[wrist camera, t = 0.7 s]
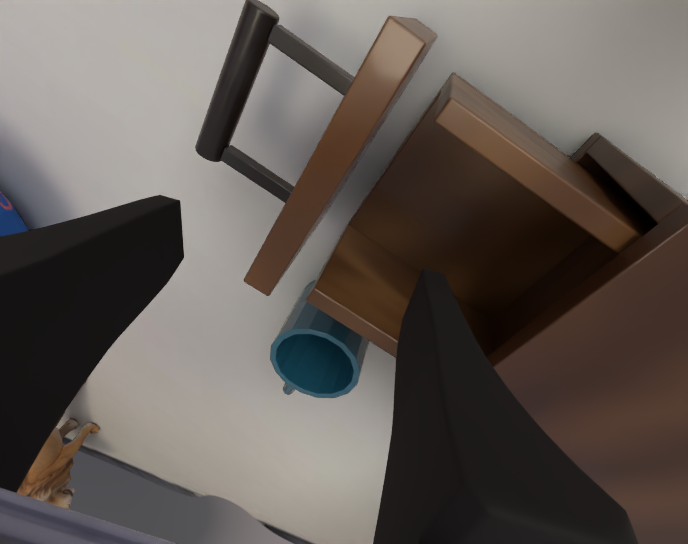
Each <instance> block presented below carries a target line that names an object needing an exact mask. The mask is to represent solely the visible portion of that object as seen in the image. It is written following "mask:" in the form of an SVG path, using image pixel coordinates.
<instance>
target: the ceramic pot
mask: <svg viewBox="0 0 688 544" xmlns="http://www.w3.org/2000/svg"><path fill="white" fill-rule="evenodd" d="M25 231H28V229H27V227H26V225H25V224H24V222H23V221H22V219H21V217H20V216H19V214H18V213H17V211H16V210H15V208H14V206H13V205H12V203H11V202H10V201H9V200H8V199H7V197H6V196H5V195H4V194H3V193H2V192H1V191H0V236H5V235H10V234H15V233H20V232H25Z"/></svg>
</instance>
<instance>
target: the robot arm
mask: <svg viewBox="0 0 688 544" xmlns="http://www.w3.org/2000/svg"><path fill="white" fill-rule="evenodd" d="M183 258H184V250H183V236H182V221H181V207H180V200H176V199H172V198H169V197H165V196H162V195H158V196H153V197H149V198H145V199H141V200H138V201H134V202H131V203H128V204H124V205H121V206H118V207H114V208H111V209H108V210H104V211H101V212H98V213H94V214H91V215H88V216H84V217H81V218H77V219H73V220H69V221H66V222H62V223H58V224H54V225H50V226H47V227H43V228H38V229H34V230H30V231H25V232H20V233H15V234H10V235H5V236H0V544H176V543H173V542H170V541H167V540H163V539H160V538H157V537H154V536H150V535H148V534H145V533H141V532H138V531H135V530H132V529H129V528H125V527H122V526H119V525H116V524H113V523H109V522H107V521H103V520H100V519H97V518H94V517H91V516H88V515H84V514H81V513H78V512H75V511H72V510H69V509H66V508H62V507H59V506H56V505H53V504H50V503H47V502H43V501H40V500H37V499H34V498H31V497H28V496H24V495H21V494H18V493H17V491H18V489H19V487H20V486H21V484H22V482H23V480H24V478H25V477H26V475H27V473H28V472H29V470H30V468H31V466H32V465H33V463H34V461H35V459H36V458H37V456H38V454H39V453H40V451H41V449H42V447H43V446H44V444H45V442H46V441H47V439H48V438H49V436H50V434H51V433H52V431H53V430H54V428H55V426H56V425H57V423H58V422H59V420H60V418H61V417H62V415H63V414H64V412H65V411H66V409H67V407H68V406H69V404H70V403H71V402H72V400H73V399H74V397H75V396H76V394H77V393H78V391H79V390H80V388H81V387H82V385H83V384H84V382H85V381H86V379H87V378H88V377H89V375H90V374H91V372H92V371H93V370H94V368H95V367H96V366H97V364H98V363H99V361H100V360H101V359H102V357H103V356H104V355H105V353H106V352H107V350H108V349H109V348H110V347H111V346H112V344H113V343H114V342H115V341H116V340H117V338H118V337H119V336H120V335H121V334H122V333H123V332H124V331H125V329H126V328H127V327H128V326H129V325H130V324H131V323H132V322H133V321H134V320H135V318H136V317H137V316H138V315H139V314H140V313H141V312H142V311H143V310H144V309H145V307H146V306H147V305H148V304H149V303H150V302H151V301H152V300H153V299H154V297H155V296H156V295H157V294H158V293H159V292H160V291H161V290H162V288H163V287H164V286H165V285H166V284H167V283H168V281H169V280H170V278H171V277H172V275H173V274H174V272H175V271H176V269H177V268H178V266H179V264H180V263H181V261H182V260H183ZM373 544H639V543H638V540H637V538H636V535H635V532H634V529H633V527H632V524H631V521H630V519H629V517H628V514H627V512H626V510H625V509H624V508H623V507H622V506H621V505H619V504H618V503H617V502H616V501H615V500H614V499H613V498H612V497H611V496H610V495H609V494H607V493H606V492H605V491H604V490H603V489H602V488H601V487H600V486H599V485H598V484H597V483H595V482H594V481H593V480H592V479H591V478H590V477H589V476H588V475H587V474H586V473H585V472H583V471H582V470H581V469H580V468H579V467H578V466H577V465H576V464H575V463H574V462H573V461H572V460H571V459H570V458H569V457H568V456H567V455H566V454H565V453H564V452H563V451H562V450H561V449H560V447H559V446H558V445H557V444H556V443H555V442H554V441H553V440H552V439H551V438H550V437H549V436H548V435H547V434H546V433H545V432H544V430H543V429H542V428H541V427H540V426H539V425H538V424H537V423H536V422H535V420H534V419H533V418H532V417H531V416H530V414H529V413H528V412H527V411H526V410H525V409H524V407H523V406H522V405H521V404H520V403H519V401H518V400H517V399H516V398H515V396H514V395H513V394H512V393H511V391H510V390H509V389H508V387H507V386H506V384H505V383H504V382H503V380H502V379H501V378H500V376H499V375H498V373H497V372H496V371H495V369H494V368H493V366H492V365H491V363H490V362H489V360H488V359H487V357H486V356H485V354H484V352H483V351H482V349H481V347H480V346H479V344H478V342H477V341H476V339H475V337H474V335H473V333H472V331H471V329H470V328H469V326H468V324H467V322H466V320H465V318H464V316H463V314H462V312H461V310H460V308H459V306H458V303H457V301H456V299H455V297H454V295H453V292H452V290H451V288H450V286H449V283H448V281H447V279H446V277H445V275H444V274H442V273H439V272H435V271H432V270H428V269H424V268H423V269H422V271H421V274H420V276H419V279H418V281H417V284H416V286H415V289H414V291H413V294H412V296H411V299H410V301H409V304H408V306H407V309H406V311H405V314H404V316H403V319H402V323H401V329H400V334H399V340H398V346H397V355H396V372H395V391H394V410H393V425H392V435H391V441H390V448H389V454H388V460H387V467H386V473H385V479H384V485H383V491H382V497H381V503H380V509H379V514H378V520H377V525H376V531H375V536H374V542H373Z"/></svg>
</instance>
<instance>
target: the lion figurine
mask: <svg viewBox="0 0 688 544" xmlns="http://www.w3.org/2000/svg"><path fill="white" fill-rule="evenodd" d="M85 382H86V381H85ZM85 382H84V383H85ZM64 413H65V412H64ZM63 415H64V414H63ZM63 415H62V416H63ZM61 418H62V417H61ZM61 418H60V420H61ZM60 420H59V421H60ZM58 423H59V422H58ZM58 423H57V424H58ZM56 426H57V425H56ZM56 426H55V428H54V430H53V431H52V433H51V434H50V436H49V438H48V439H47V441H46V442H45V444H44V446H43V447H42V449H41V451H40V453H39V454H38V456H37V458H36V459H35V461H34V463H33V465H32V466H31V468H30V470H29V472H28V473H27V475H26V477H25V478H24V480H23V482H22V484H21V486H20V487H19V489H18V491H17V493H18V494H21V495H24V496H28V497H31V498H34V499H37V500H40V501H43V502H47V503H50V504H53V505H56V506H59V507H62V508H66V509H69V508H70V504H71V499H72V498H71V497H72V496H73V494H74V492H75V490H74V489H73V488H68V487H67V485H68V484H69V482H70V480H71V477H70V469H71V467H72V466H73V459H72V457H73V456H74V454H75V453H76V452H77V451H78V449H79V448H80V446H81V445H82V443H83V441H84V439H85V438H86V436H87V435H88V433H89V432H90V433H92V434H93V433H97V432H98V431H99V427H98V426H96V425H95V424H93V423H87V424H86V425H85V426H84V427H83V428H82V429H81V430H80V431H79V433H78V435H77V436H76V437H75V438H74V439H73V441H71V442H70V443H68V444H67V445H65V446H63V444H62V439H63V438H64V436H65V435H66V434H67V433H69V432H70V431H72V430H73V429H76V428H77V427H78V426H79V425H78V423H77V422H76V421H75V420H73V419H69V420H68V421H67V422H66V423H65V424H64V425H63V426H62V427H61V428H60V429H59V430H58V429H57V428H56Z"/></svg>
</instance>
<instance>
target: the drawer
mask: <svg viewBox="0 0 688 544" xmlns="http://www.w3.org/2000/svg"><path fill="white" fill-rule="evenodd" d="M278 22H279V16H278V14H277V13H276V12H275V11H274V10H272V9H271V8H270V7H268V6H267V5H265V4H263V3H262V2H260V1H258V0H246V1H245V4H244V7H243V10H242V13H241V16H240V18H239V21H238V24H237V27H236V30H235V33H234V36H233V39H232V42H231V45H230V47H229V50H228V53H227V56H226V59H225V62H224V65H223V68H222V71H221V74H220V76H219V79H218V82H217V85H216V88H215V91H214V94H213V97H212V100H211V103H210V105H209V108H208V111H207V114H206V117H205V120H204V123H203V126H202V129H201V132H200V134H199V137H198V140H197V143H196V146H195V148H196V151H197V153H198V154H199V155H200V156H202V157H203V158H205V159H207V160H209V161H213V162H220V161H223V162H224V163H226V164H227V165H229V166H230V167H232V168H233V169H235V170H236V171H238V172H240V173H241V174H243V175H244V176H246V177H247V178H249V179H250V180H252V181H253V182H255V183H256V184H258V185H259V186H261V187H262V188H264V189H265V190H267V191H268V192H270V193H271V194H273V195H274V196H276V197H277V198H279V199H280V200H282V201H283V202H285V205H284V207H283V209H282V211H281V213H280V214H279V216H278V218H277V220H276V222H275V223H274V225H273V227H272V229H271V231H270V233H269V234H268V236H267V238H266V240H265V242H264V243H263V245H262V247H261V249H260V251H259V253H258V254H257V256H256V258H255V260H254V262H253V264H252V265H251V267H250V269H249V271H248V273H247V274H246V276H245V278H244V282H246V283H247V284H249V285H251V286H252V287H254V288H255V289H257V290H259V291H260V292H262V293H263V294H265V295H266V296H269V295H270V294H271V292H272V291H273V289H274V288H275V287H276V285H277V284H278V282H279V281H280V279H281V278H282V276H283V275H284V274H285V272H286V271H287V269H288V268H289V266H290V265H291V263H292V262H293V260H294V259H295V258H296V256H297V255H298V253H299V252H300V250H301V249H302V247H303V246H304V245H305V243H306V242H307V240H308V239H309V237H310V236H311V234H312V233H313V231H314V230H315V229H316V227H317V226H318V224H319V223H320V221H321V220H322V218H323V217H324V215H325V213H326V212H327V210H328V209H329V207H330V206H331V204H332V202H333V201H334V199H335V198H336V196H337V194H338V193H339V191H340V190H341V188H342V187H343V185H344V183H345V182H346V180H347V179H348V177H349V176H350V174H351V172H352V171H353V169H354V168H355V166H356V165H357V163H358V161H359V160H360V158H361V157H362V155H363V154H364V152H365V150H366V149H367V147H368V146H369V144H370V143H371V141H372V139H373V138H374V136H375V135H376V133H377V131H378V130H379V128H380V127H381V125H382V124H383V122H384V120H385V119H386V117H387V116H388V114H389V113H390V111H391V109H392V108H393V106H394V105H395V103H396V102H397V100H398V98H399V97H400V95H401V94H402V92H403V91H404V89H405V87H406V86H407V84H408V83H409V81H410V80H411V78H412V76H413V75H414V73H415V72H416V70H417V68H418V67H419V65H420V64H421V62H422V61H423V59H424V57H425V56H426V54H427V53H428V51H429V50H430V48H431V46H432V45H433V43H434V42H435V40H436V39H437V36H438V35H437V34H436V33H434V32H433V31H432V30H430V29H429V28H428V27H426V26H425V25H424V24H422V23H421V22H420V21H418V20H417V19H415V18H405V17H396V16H389V17H388V18H387V19H386V21H385V23H384V25H383V27H382V28H381V30H380V32H379V34H378V36H377V38H376V39H375V41H374V43H373V45H372V47H371V49H370V50H369V52H368V54H367V56H366V58H365V59H364V61H363V63H362V65H361V67H360V69H359V70H358V72H357V74H356V76H355V78H354V77H353V76H352V75H350V74H349V73H347V72H346V71H345V70H343V69H342V68H340V67H339V66H338V65H336V64H335V63H333V62H332V61H331V60H329V59H328V58H326V57H325V56H324V55H322V54H321V53H319V52H318V51H317V50H315V49H314V48H312V47H311V46H310V45H308V44H307V43H305V42H304V41H303V40H301V39H300V38H298V37H297V36H296V35H294V34H293V33H291V32H290V31H289V30H287V29H286V28H284V27H283V26H282V25H277V24H278ZM269 44H272V45H273V46H274V47H276V48H277V49H279V50H280V51H281V52H283V53H284V54H286V55H287V56H289V57H290V58H291V59H293V60H294V61H296V62H297V63H298V64H300V65H301V66H303V67H304V68H306V69H307V70H308V71H310V72H311V73H313V74H314V75H316V76H317V77H318V78H320V79H321V80H323V81H324V82H325V83H327V84H328V85H330V86H331V87H333V88H334V89H335V90H337V91H338V92H340V93H341V94H342V95H344V98H343V100H342V101H341V103H340V105H339V107H338V109H337V110H336V112H335V114H334V116H333V118H332V120H331V121H330V123H329V125H328V127H327V129H326V131H325V132H324V134H323V136H322V138H321V140H320V141H319V143H318V145H317V147H316V149H315V151H314V152H313V154H312V156H311V158H310V160H309V161H308V163H307V165H306V167H305V169H304V171H303V172H302V174H301V176H300V178H299V180H298V182H297V183H296V185H295V187H294V186H292V185H291V184H289V183H288V182H286V181H285V180H283V179H282V178H280V177H279V176H277V175H276V174H274V173H273V172H271V171H270V170H268V169H267V168H265V167H264V166H262V165H261V164H259V163H258V162H256V161H255V160H253V159H252V158H250V157H249V156H247V155H246V154H244V153H243V152H241V151H240V150H238V149H237V148H235V147H234V146H232V145H230V146H229V144H230V142H231V139H232V137H233V134H234V132H235V129H236V127H237V124H238V122H239V119H240V117H241V114H242V112H243V109H244V107H245V104H246V102H247V99H248V97H249V94H250V92H251V89H252V87H253V84H254V82H255V79H256V77H257V74H258V72H259V69H260V67H261V64H262V62H263V59H264V57H265V54H266V52H267V49H268V47H269ZM654 227H655V226H654V225H653V224H652V223H651V222H650V221H649V220H648V219H647V218H646V217H645V216H644V214H643V213H641V211H640V210H639V209H638V208H637V207H636V206H635V205H633V204H632V203H631V202H629V201H628V200H626V199H625V198H624V197H622V196H621V195H620V194H618V193H617V192H616V191H614V190H613V189H612V188H610V187H609V186H608V185H606V184H605V183H603V182H602V181H601V180H599V179H598V178H597V177H595V176H594V175H593V174H591V173H590V172H589V171H587V170H586V169H584V168H583V167H582V166H580V165H579V164H578V163H576V162H575V161H574V160H572V159H571V158H570V157H568V156H567V155H565V154H564V153H563V152H561V151H560V150H559V149H557V148H556V147H555V146H553V145H552V144H551V143H549V142H548V141H546V140H545V139H544V138H542V137H541V136H540V135H538V134H537V133H536V132H534V131H533V130H532V129H530V128H529V127H527V126H526V125H525V124H523V123H522V122H521V121H519V120H518V119H517V118H515V117H514V116H513V115H511V114H510V113H508V112H507V111H506V110H504V109H503V108H502V107H500V106H499V105H498V104H496V103H495V102H494V101H492V100H491V99H489V98H488V97H487V96H485V95H484V94H483V93H481V92H480V91H479V90H477V89H476V88H475V87H473V86H472V85H470V84H469V83H468V82H466V81H465V80H464V79H462V78H461V77H460V76H458V75H457V74H456V73H452V74H451V75H450V77H449V78H448V79H447V81H446V82H445V84H444V85H443V87H442V88H441V90H440V91H439V92H438V94H437V95H436V97H435V98H434V100H433V101H432V103H431V104H430V106H429V107H428V108H427V110H426V111H425V113H424V114H423V116H422V117H421V119H420V120H419V121H418V123H417V124H416V126H415V127H414V129H413V130H412V132H411V133H410V134H409V136H408V137H407V139H406V140H405V142H404V143H403V145H402V146H401V147H400V149H399V150H398V152H397V153H396V155H395V156H394V158H393V159H392V161H391V162H390V163H389V165H388V166H387V168H386V169H385V171H384V172H383V174H382V175H381V176H380V178H379V179H378V181H377V182H376V184H375V185H374V187H373V188H372V189H371V191H370V192H369V194H368V195H367V197H366V198H365V200H364V201H363V202H362V204H361V205H360V207H359V208H358V210H357V211H356V213H355V214H354V216H353V217H352V218H351V220H350V221H349V223H348V224H347V226H346V227H345V229H344V231H343V232H342V234H341V236H340V238H339V240H338V242H337V243H336V245H335V247H334V249H333V251H332V252H331V254H330V256H329V258H328V260H327V262H326V263H325V265H324V267H323V269H322V271H321V273H320V274H319V276H318V278H317V280H316V282H315V283H314V285H313V287H312V289H311V291H310V293H309V294H308V296H307V298H306V301H307V302H309V303H310V304H312V305H314V306H315V307H317V308H318V309H320V310H321V311H323V312H325V313H326V314H328V315H329V316H331V317H333V318H334V319H336V320H337V321H339V322H340V323H342V324H344V325H345V326H347V327H348V328H350V329H351V330H353V331H355V332H356V333H358V334H359V335H361V336H362V337H364V338H366V339H367V340H369V341H370V342H372V343H374V344H375V345H377V346H378V347H380V348H381V349H383V350H385V351H386V352H388V353H389V354H391V355H392V356H394V357H396V355H397V346H398V340H399V334H400V329H401V323H402V319H403V316H404V314H405V311H406V309H407V306H408V304H409V301H410V299H411V296H412V294H413V291H414V289H415V286H416V284H417V281H418V279H419V276H420V274H421V271H422V269H423V268H424V269H428V270H432V271H435V272H439V273H442V274H444V275H445V277H446V279H447V281H448V283H449V286H450V288H451V290H452V292H453V295H454V297H455V299H456V301H457V303H458V306H459V308H460V310H461V312H462V314H463V316H464V318H465V320H466V322H467V324H468V326H469V328H470V329H471V331H472V333H473V335H474V337H475V339H476V341H477V342H478V344H479V346H480V347H481V349H482V351H483V352H484V354H485V356H486V357H487V356H489V355H490V354H491V353H493V352H494V351H495V350H496V349H498V348H499V347H500V346H502V345H503V344H504V343H505V342H507V341H508V340H509V339H511V338H512V337H513V336H514V335H516V334H517V333H518V332H520V331H521V330H522V329H524V328H525V327H526V326H527V325H529V324H530V323H531V322H533V321H534V320H535V319H536V318H538V317H539V316H540V315H542V314H543V313H544V312H545V311H547V310H548V309H549V308H551V307H552V306H553V305H555V304H556V303H557V302H558V301H560V300H561V299H562V298H564V297H565V296H566V295H567V294H569V293H570V292H571V291H573V290H574V289H575V288H576V287H578V286H579V285H580V284H582V283H583V282H584V281H586V280H587V279H588V278H589V277H591V276H592V275H593V274H595V273H596V272H597V271H598V270H600V269H601V268H602V267H604V266H605V265H606V264H607V263H609V262H610V261H611V260H613V259H614V258H615V257H616V256H618V255H619V254H620V253H622V252H623V251H624V250H626V249H627V248H628V247H629V246H631V245H632V244H633V243H635V242H636V241H637V240H638V239H640V238H641V237H642V236H644V235H645V234H646V233H647V232H649V231H650V230H651V229H653V228H654Z"/></svg>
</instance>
